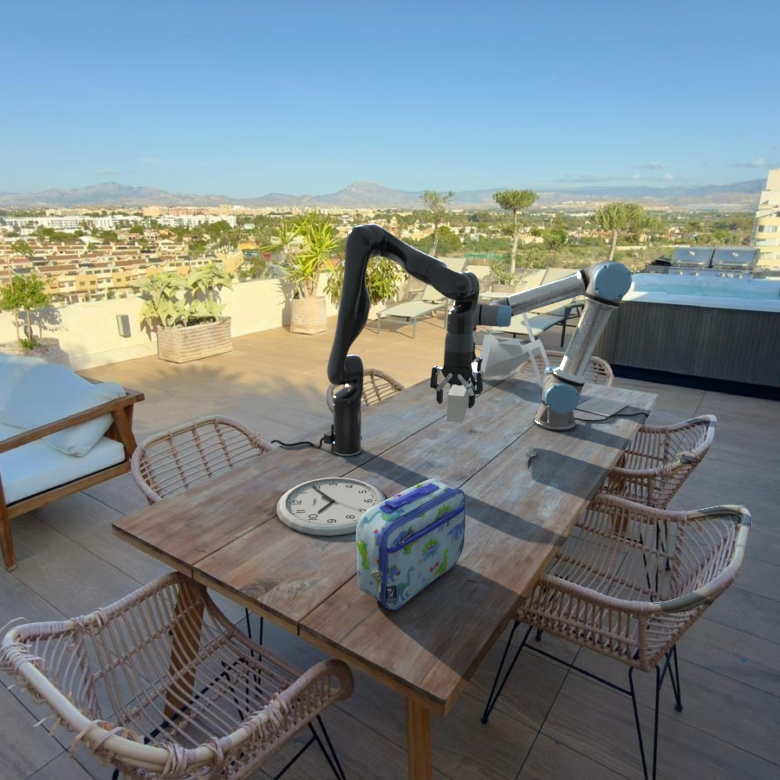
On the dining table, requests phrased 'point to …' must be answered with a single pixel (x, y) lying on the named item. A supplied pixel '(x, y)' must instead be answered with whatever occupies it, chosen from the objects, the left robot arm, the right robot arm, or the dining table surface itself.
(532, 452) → the fork
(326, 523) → the wall clock
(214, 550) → the dining table surface
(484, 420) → the dining table surface
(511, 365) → the white plastic object
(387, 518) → the lunch box
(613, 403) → the invitation card
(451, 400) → the bar
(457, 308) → the left robot arm
